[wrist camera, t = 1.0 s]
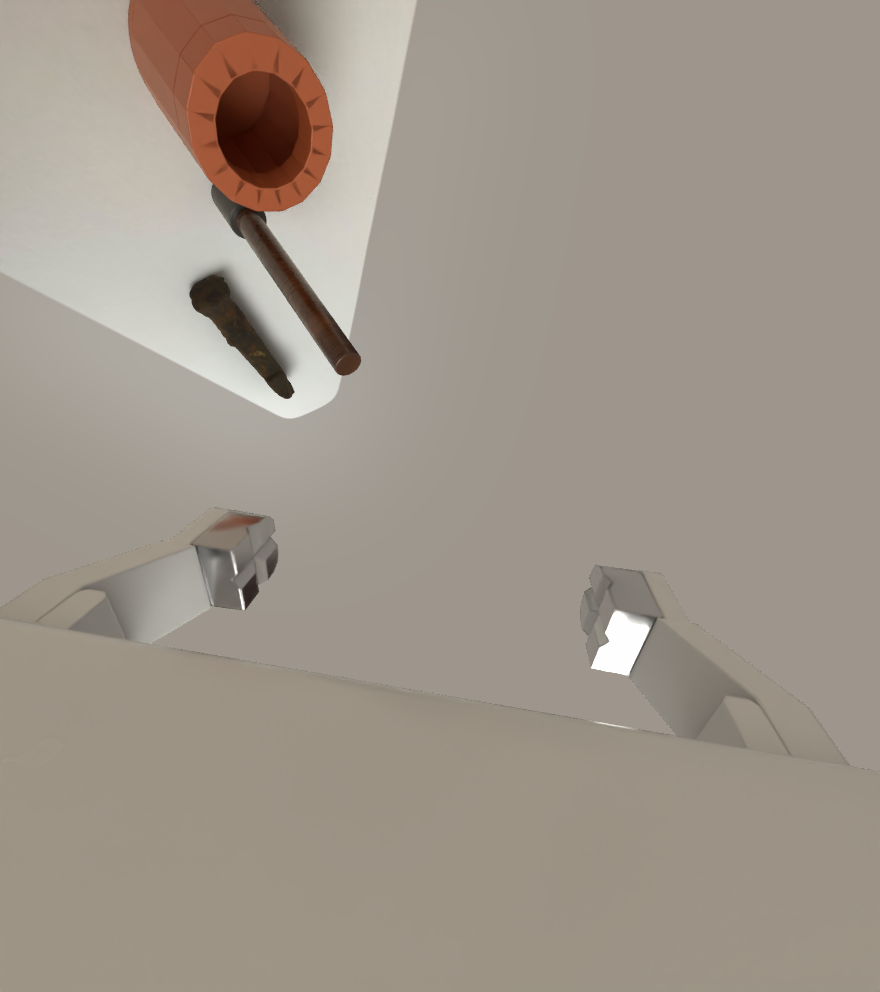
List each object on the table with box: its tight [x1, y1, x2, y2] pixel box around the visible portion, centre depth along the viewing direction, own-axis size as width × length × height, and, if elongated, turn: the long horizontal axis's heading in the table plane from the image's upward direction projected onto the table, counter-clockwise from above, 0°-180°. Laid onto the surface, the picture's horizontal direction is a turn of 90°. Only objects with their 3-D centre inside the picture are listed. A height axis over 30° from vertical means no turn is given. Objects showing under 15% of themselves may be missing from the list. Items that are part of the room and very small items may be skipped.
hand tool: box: [190, 275, 295, 399], centre depth 50 cm, size 19×4×5 cm, turn 4°
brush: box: [212, 184, 361, 376], centre depth 34 cm, size 3×3×22 cm
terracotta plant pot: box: [128, 0, 333, 211], centre depth 28 cm, size 9×9×10 cm
